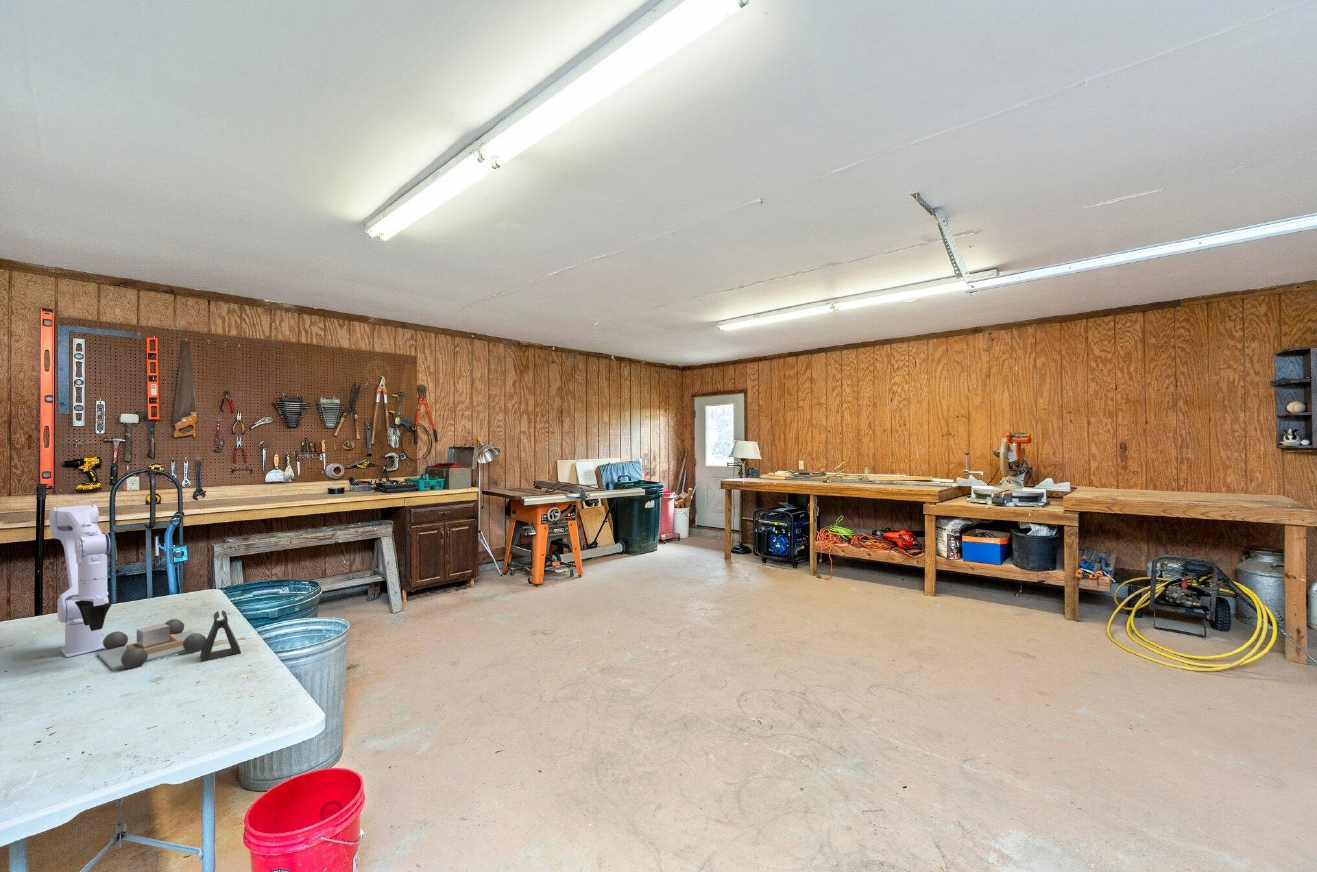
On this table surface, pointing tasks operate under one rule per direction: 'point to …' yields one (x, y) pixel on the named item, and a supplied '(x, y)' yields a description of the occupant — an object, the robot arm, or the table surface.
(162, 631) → the block
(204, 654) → the phone stand
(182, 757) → the table surface
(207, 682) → the table surface
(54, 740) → the table surface
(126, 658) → the chassis board
